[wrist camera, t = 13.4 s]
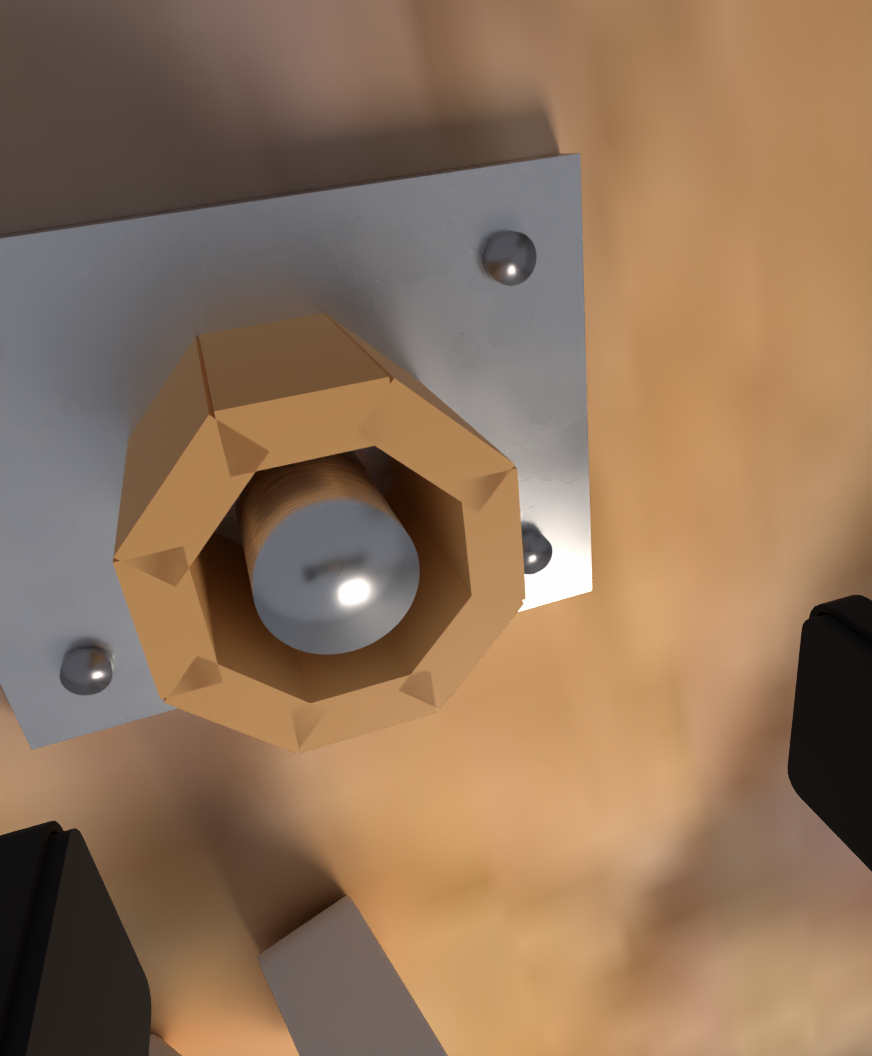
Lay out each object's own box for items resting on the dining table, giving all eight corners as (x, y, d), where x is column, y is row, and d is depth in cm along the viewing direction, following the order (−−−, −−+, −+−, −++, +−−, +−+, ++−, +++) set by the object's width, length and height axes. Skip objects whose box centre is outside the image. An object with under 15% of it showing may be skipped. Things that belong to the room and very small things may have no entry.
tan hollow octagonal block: (411, 297, 18) (509, 353, 13) (442, 556, 21) (531, 683, 16) (99, 352, 17) (69, 439, 11) (183, 622, 20) (190, 786, 15)
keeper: (560, 153, 19) (748, 151, 13) (576, 575, 24) (713, 712, 18) (-178, 261, 15) (-398, 328, 9) (37, 725, 21) (-15, 955, 15)
